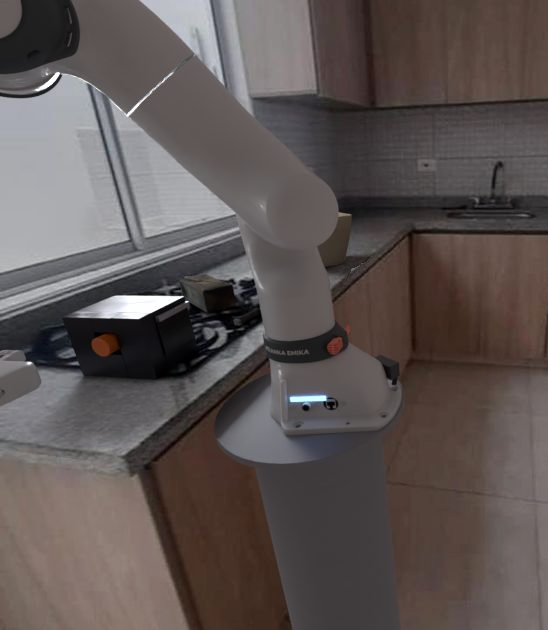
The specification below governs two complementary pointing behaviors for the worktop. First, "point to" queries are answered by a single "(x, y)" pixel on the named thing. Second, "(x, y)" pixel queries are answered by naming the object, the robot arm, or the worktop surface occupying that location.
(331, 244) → the flower pot
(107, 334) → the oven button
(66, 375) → the worktop surface
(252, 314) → the knife
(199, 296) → the beverage carton
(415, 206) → the worktop surface
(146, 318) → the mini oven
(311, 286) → the robot arm
